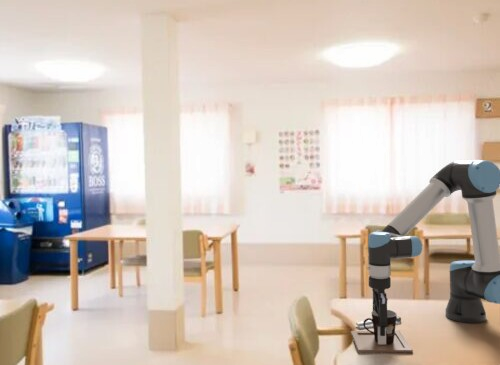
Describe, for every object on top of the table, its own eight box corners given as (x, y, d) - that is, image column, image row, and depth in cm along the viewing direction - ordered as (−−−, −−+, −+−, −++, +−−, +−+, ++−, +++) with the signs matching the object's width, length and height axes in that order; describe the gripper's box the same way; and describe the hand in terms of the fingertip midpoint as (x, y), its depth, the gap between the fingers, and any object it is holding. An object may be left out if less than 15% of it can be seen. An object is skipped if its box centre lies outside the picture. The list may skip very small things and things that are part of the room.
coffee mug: (395, 336, 173) (395, 309, 173) (398, 346, 165) (397, 317, 164) (362, 335, 176) (362, 308, 175) (363, 344, 167) (363, 316, 167)
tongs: (396, 319, 195) (396, 315, 194) (403, 323, 190) (403, 318, 190) (353, 324, 189) (353, 320, 189) (360, 329, 184) (359, 324, 184)
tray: (399, 334, 179) (399, 330, 178) (412, 353, 161) (412, 350, 161) (350, 333, 180) (350, 330, 180) (358, 353, 162) (358, 349, 162)
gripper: (364, 269, 179) (364, 330, 180) (373, 283, 160) (374, 351, 161) (384, 269, 178) (384, 330, 179) (396, 283, 159) (397, 351, 160)
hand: (379, 340), depth 170 cm, fingers closed on coffee mug, 6 cm apart
